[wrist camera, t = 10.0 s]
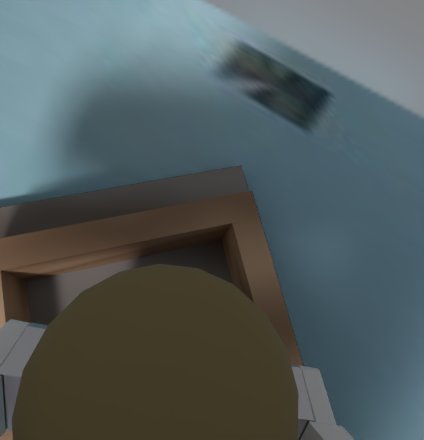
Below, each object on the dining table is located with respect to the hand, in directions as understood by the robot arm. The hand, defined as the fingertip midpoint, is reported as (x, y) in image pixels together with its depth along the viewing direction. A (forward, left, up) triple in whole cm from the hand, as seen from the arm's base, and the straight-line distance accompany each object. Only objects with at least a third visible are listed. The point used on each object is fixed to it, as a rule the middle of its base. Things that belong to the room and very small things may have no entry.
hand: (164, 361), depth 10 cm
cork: (0, 0, -7) cm, 7 cm away
